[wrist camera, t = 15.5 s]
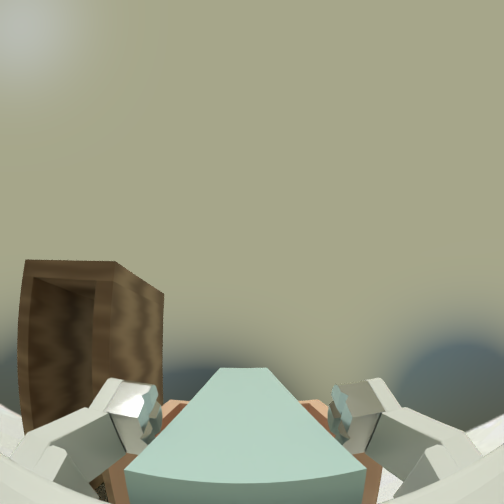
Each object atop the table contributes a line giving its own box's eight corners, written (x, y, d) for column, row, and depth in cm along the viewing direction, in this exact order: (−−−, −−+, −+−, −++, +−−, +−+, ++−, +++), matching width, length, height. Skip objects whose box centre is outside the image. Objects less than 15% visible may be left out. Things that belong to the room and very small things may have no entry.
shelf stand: (136, 548, 11) (115, 261, 19) (46, 514, 11) (25, 259, 19) (170, 488, 24) (164, 293, 32) (100, 473, 24) (93, 290, 32)
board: (351, 548, 3) (366, 468, 4) (142, 550, 3) (123, 469, 4) (267, 392, 25) (267, 367, 26) (220, 392, 25) (220, 367, 25)
